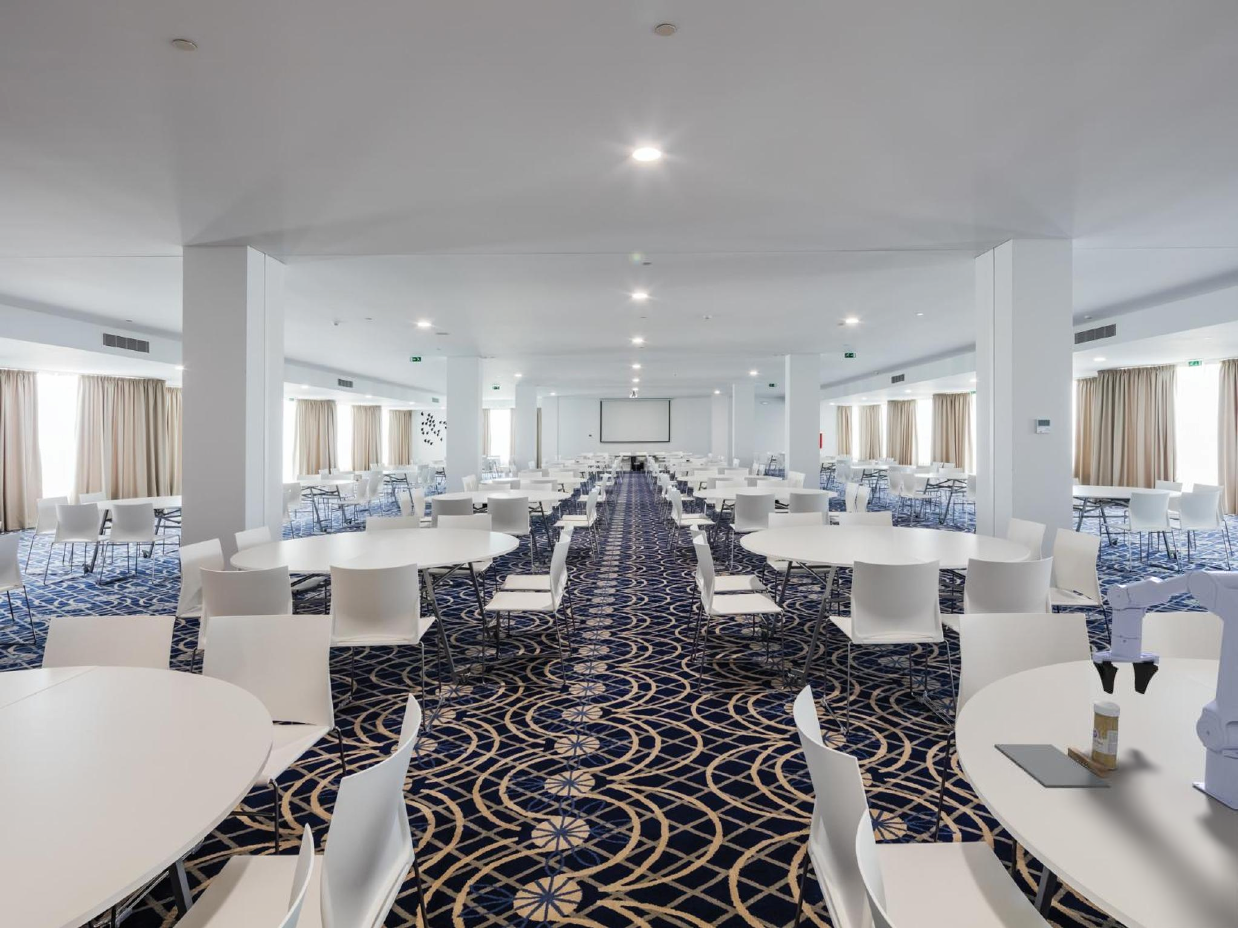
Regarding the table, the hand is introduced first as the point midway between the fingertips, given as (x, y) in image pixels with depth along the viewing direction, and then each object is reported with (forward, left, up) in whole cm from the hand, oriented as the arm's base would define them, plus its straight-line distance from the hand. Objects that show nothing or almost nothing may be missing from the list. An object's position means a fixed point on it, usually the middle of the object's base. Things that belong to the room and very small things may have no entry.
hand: (1123, 692), depth 162 cm
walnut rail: (-15, +20, -10) cm, 27 cm away
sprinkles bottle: (-15, +16, -10) cm, 24 cm away
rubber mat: (-15, +28, -10) cm, 33 cm away
